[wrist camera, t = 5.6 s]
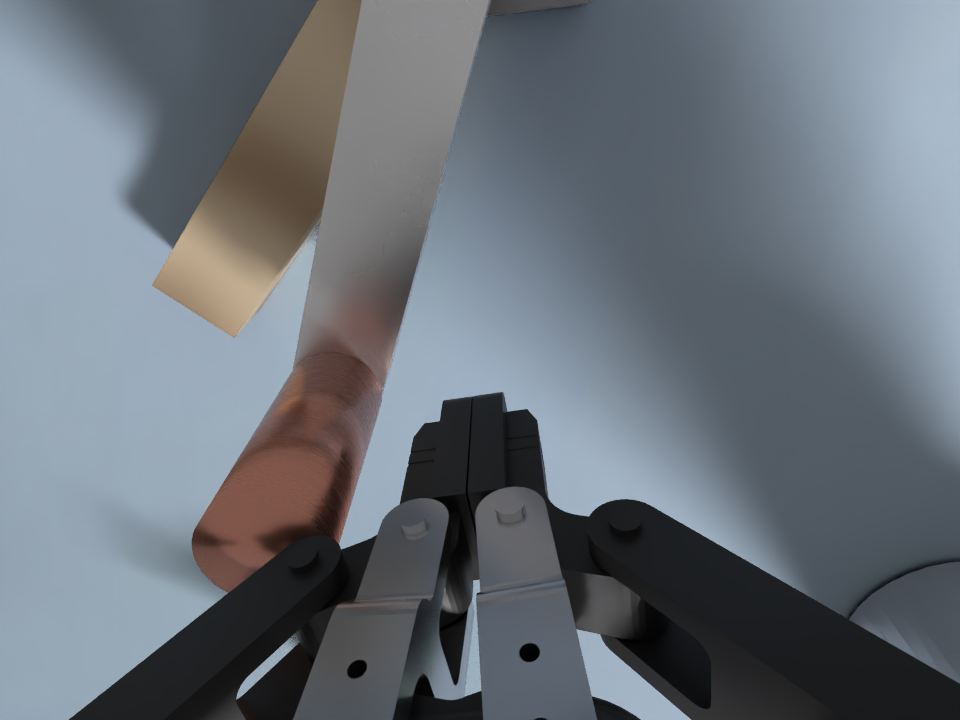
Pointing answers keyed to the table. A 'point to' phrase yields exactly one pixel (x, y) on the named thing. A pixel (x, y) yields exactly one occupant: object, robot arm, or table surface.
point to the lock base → (276, 174)
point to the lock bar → (351, 285)
